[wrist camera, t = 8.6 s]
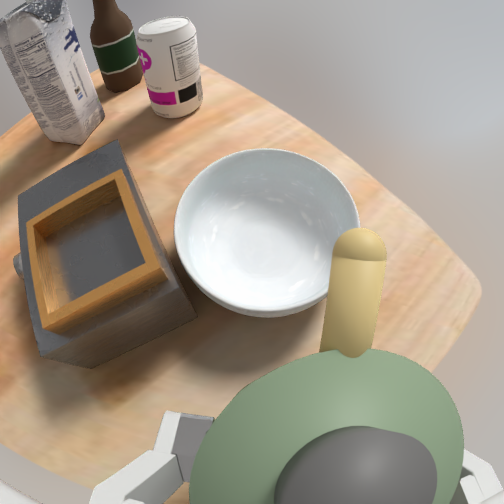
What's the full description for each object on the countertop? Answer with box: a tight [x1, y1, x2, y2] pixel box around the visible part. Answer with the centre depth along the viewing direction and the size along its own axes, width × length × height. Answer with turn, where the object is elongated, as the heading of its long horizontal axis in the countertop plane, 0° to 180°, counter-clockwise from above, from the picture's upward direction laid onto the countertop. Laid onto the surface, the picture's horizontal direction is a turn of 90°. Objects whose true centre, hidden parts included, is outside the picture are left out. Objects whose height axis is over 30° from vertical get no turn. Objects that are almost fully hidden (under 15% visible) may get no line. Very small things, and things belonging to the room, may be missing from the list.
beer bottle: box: [90, 0, 143, 92], centre depth 37 cm, size 8×8×24 cm
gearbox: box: [13, 139, 198, 369], centre depth 26 cm, size 16×18×11 cm
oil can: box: [189, 228, 464, 504], centre depth 9 cm, size 8×6×12 cm
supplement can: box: [136, 16, 203, 118], centre depth 36 cm, size 8×8×15 cm
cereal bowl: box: [174, 148, 360, 318], centre depth 29 cm, size 17×17×7 cm
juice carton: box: [0, 0, 105, 145], centre depth 29 cm, size 9×10×27 cm
